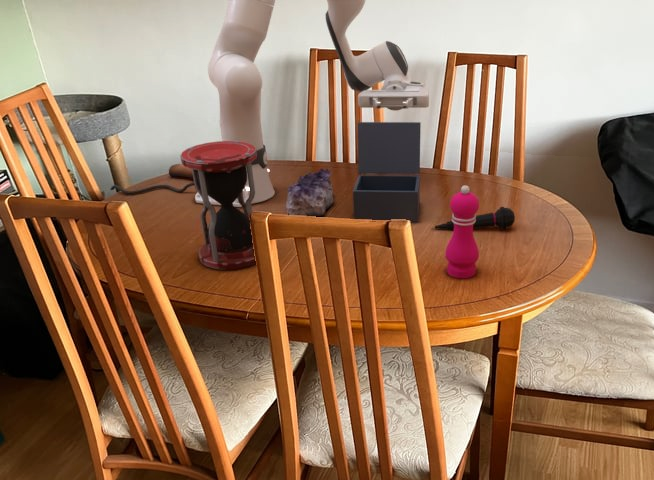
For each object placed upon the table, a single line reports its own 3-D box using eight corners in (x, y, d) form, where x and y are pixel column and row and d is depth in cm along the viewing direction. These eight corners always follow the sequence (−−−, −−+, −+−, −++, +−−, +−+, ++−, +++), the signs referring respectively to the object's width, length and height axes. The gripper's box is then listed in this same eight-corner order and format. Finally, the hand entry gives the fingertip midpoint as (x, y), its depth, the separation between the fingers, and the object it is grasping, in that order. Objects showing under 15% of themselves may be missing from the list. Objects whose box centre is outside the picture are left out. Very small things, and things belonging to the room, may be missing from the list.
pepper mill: (442, 265, 139) (444, 180, 129) (473, 263, 140) (479, 178, 130) (447, 280, 133) (451, 192, 123) (480, 278, 133) (486, 191, 123)
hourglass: (185, 264, 142) (164, 158, 130) (224, 236, 155) (208, 137, 143) (246, 275, 137) (230, 166, 125) (281, 244, 150) (270, 143, 138)
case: (417, 222, 160) (417, 192, 156) (354, 221, 162) (352, 191, 158) (419, 203, 171) (419, 175, 167) (360, 203, 173) (358, 174, 168)
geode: (302, 192, 180) (304, 159, 176) (340, 200, 179) (343, 166, 174) (278, 217, 163) (280, 181, 158) (320, 225, 162) (323, 189, 157)
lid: (420, 122, 162) (420, 122, 163) (357, 122, 163) (358, 122, 164) (419, 173, 166) (419, 173, 167) (358, 173, 168) (358, 172, 169)
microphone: (436, 242, 156) (516, 232, 155) (435, 226, 152) (516, 215, 150) (434, 228, 160) (512, 217, 158) (432, 211, 156) (512, 200, 154)
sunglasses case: (232, 174, 194) (223, 159, 188) (222, 191, 191) (212, 177, 185) (186, 168, 200) (175, 153, 195) (175, 184, 197) (165, 170, 192)
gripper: (359, 83, 181) (353, 94, 169) (429, 83, 180) (428, 93, 168) (360, 105, 185) (354, 117, 173) (429, 105, 183) (428, 117, 171)
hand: (391, 105), depth 170 cm, fingers open, 6 cm apart
